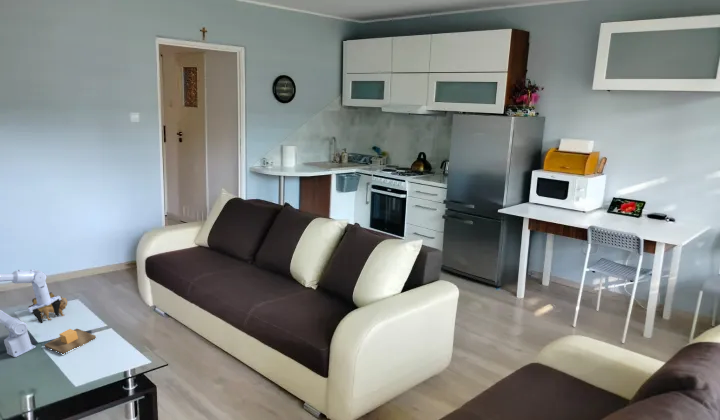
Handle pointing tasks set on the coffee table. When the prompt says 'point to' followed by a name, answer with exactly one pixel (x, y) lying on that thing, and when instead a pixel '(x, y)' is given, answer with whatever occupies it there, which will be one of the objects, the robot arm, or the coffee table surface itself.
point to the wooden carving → (44, 306)
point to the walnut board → (63, 347)
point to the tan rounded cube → (68, 336)
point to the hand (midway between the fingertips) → (49, 319)
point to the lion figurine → (51, 310)
